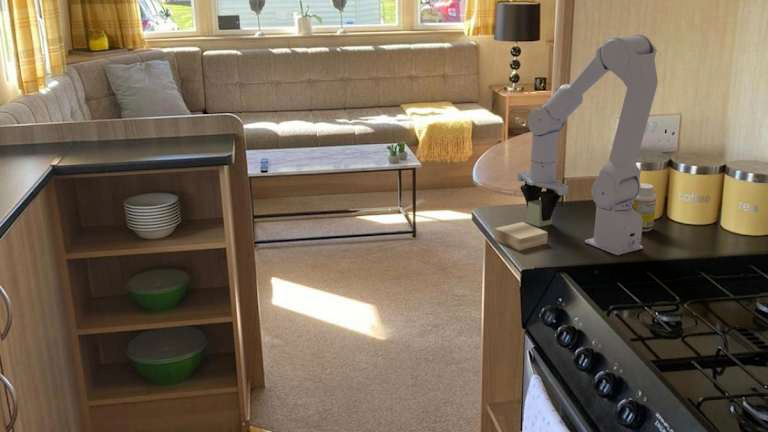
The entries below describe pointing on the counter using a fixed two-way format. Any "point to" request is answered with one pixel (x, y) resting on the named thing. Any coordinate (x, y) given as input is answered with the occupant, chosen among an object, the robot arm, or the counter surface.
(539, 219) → the sage block
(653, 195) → the supplement bottle
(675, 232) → the counter surface
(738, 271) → the counter surface
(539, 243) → the birch base
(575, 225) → the counter surface
